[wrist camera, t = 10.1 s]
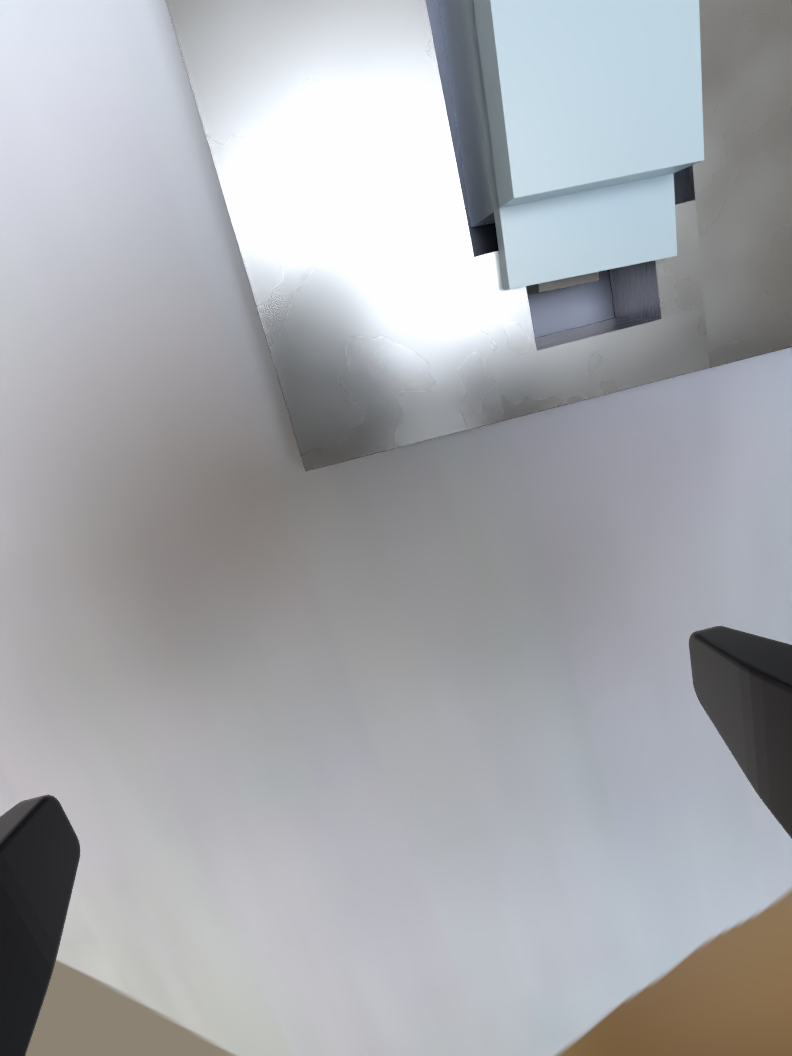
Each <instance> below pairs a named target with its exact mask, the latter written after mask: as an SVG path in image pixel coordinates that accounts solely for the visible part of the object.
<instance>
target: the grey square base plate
mask: <svg viewBox="0 0 792 1056" xmlns="http://www.w3.org/2000/svg"><path fill="white" fill-rule="evenodd" d="M166 3H167V6H168V10H169V13H170V17H171V20H172V23H173V27H174V30H175V33H176V37H177V40H178V43H179V47H180V50H181V54H182V57H183V60H184V64H185V67H186V70H187V74H188V77H189V80H190V84H191V87H192V91H193V94H194V97H195V101H196V104H197V107H198V111H199V114H200V117H201V121H202V124H203V128H204V131H205V134H206V138H207V141H208V144H209V148H210V151H211V154H212V158H213V161H214V165H215V168H216V171H217V175H218V178H219V181H220V185H221V188H222V191H223V195H224V198H225V202H226V205H227V208H228V212H229V215H230V218H231V222H232V225H233V228H234V232H235V235H236V239H237V242H238V245H239V249H240V252H241V255H242V259H243V262H244V265H245V269H246V272H247V276H248V279H249V282H250V286H251V289H252V292H253V296H254V299H255V302H256V306H257V309H258V313H259V316H260V319H261V323H262V326H263V329H264V333H265V336H266V339H267V343H268V346H269V350H270V353H271V356H272V360H273V363H274V366H275V370H276V373H277V376H278V380H279V383H280V387H281V390H282V393H283V397H284V400H285V403H286V407H287V410H288V413H289V417H290V420H291V424H292V427H293V430H294V434H295V437H296V440H297V444H298V447H299V450H300V454H301V457H302V461H303V464H304V467H305V471H308V470H312V469H316V468H320V467H324V466H328V465H332V464H336V463H340V462H344V461H348V460H351V459H355V458H359V457H363V456H367V455H371V454H375V453H379V452H383V451H387V450H391V449H394V448H398V447H402V446H406V445H410V444H414V443H418V442H422V441H426V440H430V439H434V438H437V437H441V436H445V435H449V434H453V433H457V432H461V431H465V430H469V429H473V428H477V427H481V426H484V425H488V424H492V423H496V422H500V421H504V420H508V419H512V418H516V417H520V416H524V415H527V414H531V413H535V412H539V411H543V410H547V409H551V408H555V407H559V406H563V405H567V404H570V403H574V402H578V401H582V400H586V399H590V398H594V397H598V396H602V395H606V394H610V393H613V392H617V391H621V390H625V389H629V388H633V387H637V386H641V385H645V384H649V383H653V382H656V381H660V380H664V379H668V378H672V377H676V376H680V375H684V374H688V373H692V372H696V371H699V370H703V369H707V368H711V367H715V366H719V365H723V364H727V363H731V362H735V361H739V360H742V359H746V358H750V357H754V356H758V355H762V354H766V353H770V352H774V351H778V350H782V349H785V348H789V347H792V0H699V15H700V46H701V76H702V106H703V137H704V160H703V161H701V162H699V163H696V164H694V165H692V166H689V167H687V168H685V169H682V170H680V171H677V172H675V173H673V174H674V196H675V217H676V238H677V256H673V257H668V258H664V259H659V260H654V261H649V262H644V263H639V264H634V265H629V266H624V267H619V268H614V269H609V273H610V281H611V289H612V297H613V305H614V312H615V318H613V319H609V320H605V321H601V322H597V323H593V324H589V325H586V326H582V327H578V328H574V329H570V330H566V331H562V332H558V333H554V334H551V335H547V336H543V337H539V338H535V337H534V331H533V325H532V319H531V313H530V307H529V301H528V296H527V290H526V286H524V287H519V288H514V289H509V290H504V287H503V279H502V271H501V263H500V256H499V251H495V252H492V253H488V254H484V255H480V256H476V257H474V254H473V248H472V243H471V238H470V233H469V227H468V222H467V217H466V211H465V206H464V201H463V196H462V190H461V185H460V180H459V175H458V169H457V164H456V159H455V153H454V148H453V143H452V138H451V132H450V127H449V122H448V116H447V111H446V106H445V101H444V95H443V90H442V85H441V80H440V74H439V69H438V64H437V58H436V53H435V48H434V43H433V37H432V32H431V27H430V22H429V16H428V11H427V6H426V0H166Z"/></svg>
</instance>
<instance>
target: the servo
mask: <svg viewBox="0 0 792 1056" xmlns="http://www.w3.org/2000/svg"><path fill="white" fill-rule="evenodd" d="M439 4H440V11H441V18H442V25H443V32H444V40H445V47H446V54H447V61H448V68H449V75H450V83H451V90H452V97H453V104H454V111H455V118H456V125H457V133H458V140H459V147H460V154H461V161H462V168H463V176H464V183H465V190H466V197H467V204H468V211H469V218H470V226H471V228H472V227H477V226H482V225H487V224H492V223H495V224H496V232H497V240H498V248H499V256H500V263H501V271H502V279H503V287H504V290H509V289H514V288H519V287H524V286H526V290H527V294H531V293H540V292H545V291H550V290H555V289H560V288H565V287H570V286H575V285H580V284H585V283H590V282H595V281H599V271H604V270H609V269H614V268H619V267H624V266H629V265H634V264H639V263H644V262H649V261H654V260H659V259H664V258H668V257H673V256H677V238H676V217H675V196H674V174H673V173H675V172H677V171H680V170H682V169H685V168H687V167H689V166H692V165H694V164H696V163H699V162H701V161H703V160H704V137H703V106H702V76H701V46H700V15H699V0H439Z"/></svg>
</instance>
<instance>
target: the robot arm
mask: <svg viewBox="0 0 792 1056" xmlns="http://www.w3.org/2000/svg"><path fill="white" fill-rule="evenodd" d="M689 649H690V658H691V667H692V676H693V685H694V689H695V692H696V695H697V697H698V699H699V701H700V703H701V705H702V706H703V708H704V710H705V711H706V713H707V714H708V716H709V718H710V719H711V721H712V722H713V724H714V726H715V727H716V729H717V730H718V732H719V734H720V735H721V737H722V738H723V740H724V742H725V743H726V745H727V746H728V748H729V750H730V751H731V753H732V755H733V756H734V758H735V759H736V761H737V763H738V764H739V766H740V767H741V769H742V771H743V772H744V774H745V775H746V777H747V779H748V780H749V782H750V783H751V785H752V786H753V788H754V789H755V791H756V792H757V794H758V795H759V797H760V798H761V799H762V801H763V802H764V803H765V805H766V806H767V807H768V809H769V810H770V811H771V813H772V814H773V815H774V817H775V818H776V819H777V820H778V822H779V823H780V824H781V825H782V827H783V828H784V829H785V831H786V832H787V833H788V834H789V836H790V837H791V838H792V645H790V644H786V643H782V642H779V641H775V640H771V639H768V638H764V637H760V636H757V635H753V634H749V633H745V632H742V631H738V630H734V629H731V628H727V627H723V626H716V627H712V628H708V629H704V630H700V631H696V632H694V633H692V634H691V636H690V639H689ZM79 858H80V845H79V841H78V838H77V836H76V834H75V832H74V830H73V828H72V826H71V824H70V822H69V820H68V818H67V816H66V814H65V812H64V810H63V808H62V806H61V804H60V803H59V801H58V800H57V799H56V798H55V797H54V796H51V795H45V796H41V797H37V798H33V799H29V800H25V801H22V802H20V803H18V804H17V805H15V806H14V807H13V808H11V809H10V810H9V811H7V812H6V813H5V814H4V815H2V816H1V817H0V1056H25V1055H26V1052H27V1049H28V1046H29V1043H30V1040H31V1037H32V1034H33V1031H34V1028H35V1025H36V1022H37V1019H38V1016H39V1013H40V1009H41V1007H42V1004H43V1001H44V998H45V995H46V992H47V989H48V985H49V982H50V979H51V976H52V972H53V969H54V965H55V961H56V957H57V953H58V949H59V945H60V941H61V936H62V932H63V928H64V923H65V919H66V915H67V911H68V906H69V902H70V898H71V893H72V889H73V885H74V880H75V876H76V872H77V867H78V863H79Z"/></svg>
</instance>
